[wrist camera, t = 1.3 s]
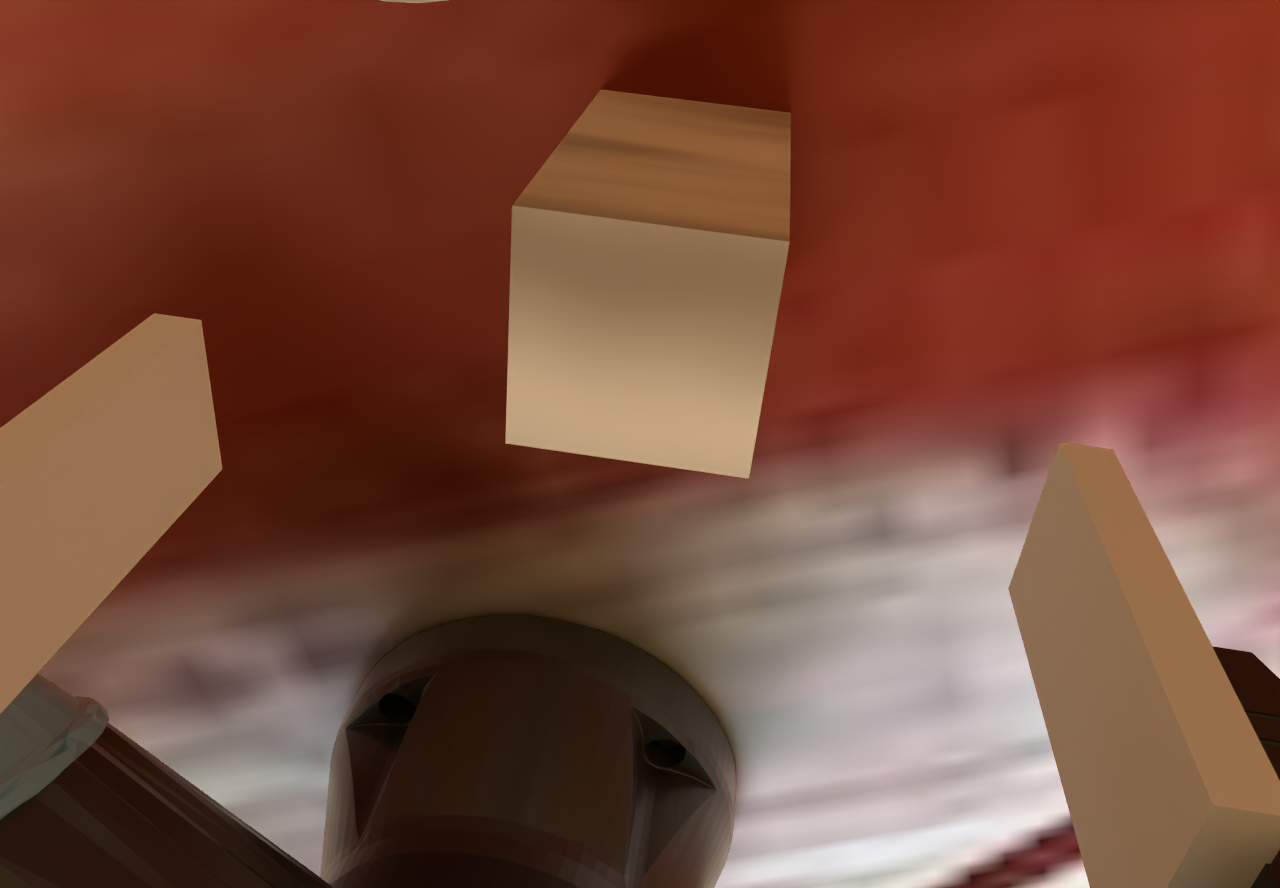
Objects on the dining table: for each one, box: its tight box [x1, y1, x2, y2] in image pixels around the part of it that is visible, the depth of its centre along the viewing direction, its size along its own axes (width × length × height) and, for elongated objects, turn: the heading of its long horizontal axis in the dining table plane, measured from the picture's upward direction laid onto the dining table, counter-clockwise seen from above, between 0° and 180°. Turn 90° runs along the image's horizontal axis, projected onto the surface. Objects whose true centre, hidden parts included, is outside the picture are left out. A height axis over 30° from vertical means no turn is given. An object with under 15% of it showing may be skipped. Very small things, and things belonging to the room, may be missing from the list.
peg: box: [505, 89, 791, 479], centre depth 24 cm, size 5×5×10 cm
